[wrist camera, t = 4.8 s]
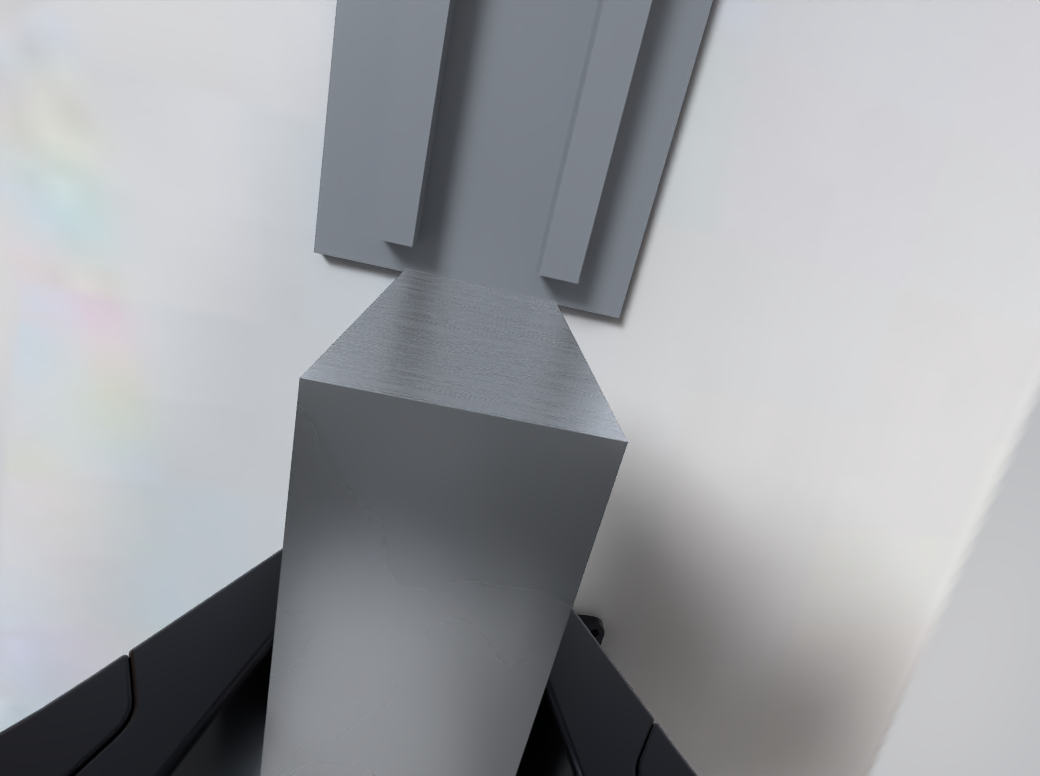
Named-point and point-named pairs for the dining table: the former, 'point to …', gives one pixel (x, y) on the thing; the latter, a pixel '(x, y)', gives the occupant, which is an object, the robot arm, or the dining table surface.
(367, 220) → the dock
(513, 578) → the block
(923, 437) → the dining table surface
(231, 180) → the dining table surface
